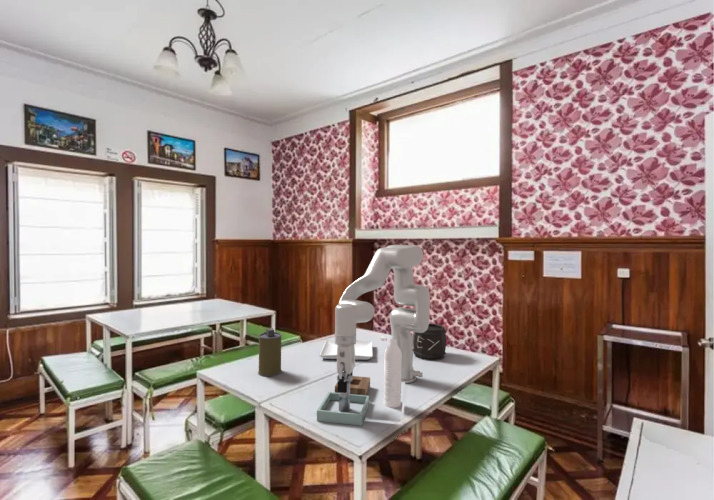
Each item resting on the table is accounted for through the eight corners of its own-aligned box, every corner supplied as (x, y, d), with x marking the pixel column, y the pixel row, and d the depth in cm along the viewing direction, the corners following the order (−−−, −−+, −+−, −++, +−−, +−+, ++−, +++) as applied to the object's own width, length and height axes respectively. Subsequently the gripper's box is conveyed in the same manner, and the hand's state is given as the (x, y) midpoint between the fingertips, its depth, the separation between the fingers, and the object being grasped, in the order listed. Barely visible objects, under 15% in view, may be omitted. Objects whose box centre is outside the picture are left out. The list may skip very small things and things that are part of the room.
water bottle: (404, 405, 138) (405, 339, 137) (394, 411, 133) (396, 343, 132) (384, 399, 143) (385, 335, 143) (374, 405, 138) (376, 338, 137)
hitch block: (369, 389, 152) (370, 377, 152) (365, 402, 141) (365, 389, 140) (341, 386, 154) (341, 375, 154) (334, 399, 143) (334, 386, 143)
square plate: (325, 345, 214) (325, 339, 214) (372, 347, 213) (372, 340, 213) (318, 361, 187) (318, 353, 187) (372, 363, 186) (372, 355, 186)
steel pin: (353, 407, 134) (354, 374, 134) (350, 414, 129) (350, 380, 128) (338, 405, 135) (339, 372, 135) (334, 413, 130) (335, 378, 129)
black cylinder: (404, 353, 201) (405, 325, 200) (428, 348, 211) (429, 321, 210) (428, 363, 186) (428, 332, 185) (452, 357, 196) (453, 328, 195)
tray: (369, 405, 138) (369, 395, 138) (362, 425, 123) (362, 415, 123) (328, 401, 141) (328, 392, 141) (316, 420, 126) (316, 410, 125)
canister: (284, 373, 168) (285, 330, 167) (262, 378, 163) (262, 333, 162) (276, 366, 177) (277, 325, 177) (255, 370, 172) (255, 327, 171)
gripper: (351, 347, 122) (350, 397, 123) (360, 333, 139) (359, 378, 140) (329, 345, 123) (328, 396, 124) (340, 332, 140) (340, 376, 141)
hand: (345, 386), depth 132 cm, fingers open, 9 cm apart
